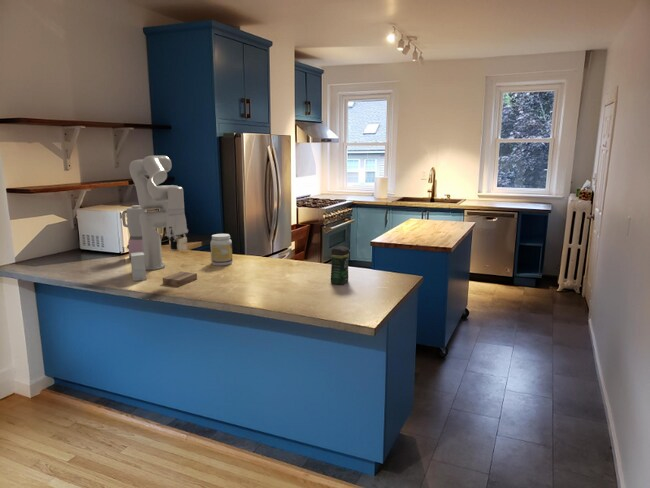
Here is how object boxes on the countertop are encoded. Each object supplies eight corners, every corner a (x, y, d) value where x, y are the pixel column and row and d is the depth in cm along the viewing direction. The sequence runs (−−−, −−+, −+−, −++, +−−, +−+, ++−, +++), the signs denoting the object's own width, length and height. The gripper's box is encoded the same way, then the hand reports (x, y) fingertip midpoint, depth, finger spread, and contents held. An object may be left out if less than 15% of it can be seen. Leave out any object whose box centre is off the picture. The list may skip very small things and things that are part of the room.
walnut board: (162, 284, 236) (162, 278, 236) (181, 277, 249) (180, 271, 248) (179, 286, 233) (179, 280, 232) (197, 279, 245) (196, 273, 245)
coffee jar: (342, 286, 235) (343, 249, 231) (328, 283, 239) (328, 247, 235) (350, 281, 243) (351, 245, 240) (337, 279, 247) (337, 244, 243)
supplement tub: (236, 264, 277) (235, 235, 274) (216, 267, 270) (214, 237, 267) (227, 260, 287) (226, 232, 283) (208, 262, 280) (206, 234, 277)
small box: (146, 279, 244) (144, 254, 241) (133, 281, 241) (131, 256, 238) (144, 275, 251) (143, 251, 248) (132, 277, 248) (130, 252, 245)
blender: (154, 256, 296) (151, 204, 289) (144, 260, 284) (141, 207, 277) (130, 255, 298) (127, 204, 291) (120, 259, 286) (115, 206, 280)
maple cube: (169, 250, 236) (169, 238, 235) (177, 248, 241) (176, 236, 240) (179, 251, 234) (179, 239, 232) (187, 249, 239) (186, 237, 238)
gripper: (181, 209, 243) (183, 244, 246) (158, 213, 227) (160, 250, 231) (193, 210, 240) (195, 245, 244) (171, 214, 224) (173, 251, 228)
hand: (178, 247), depth 237 cm, fingers closed on maple cube, 6 cm apart
